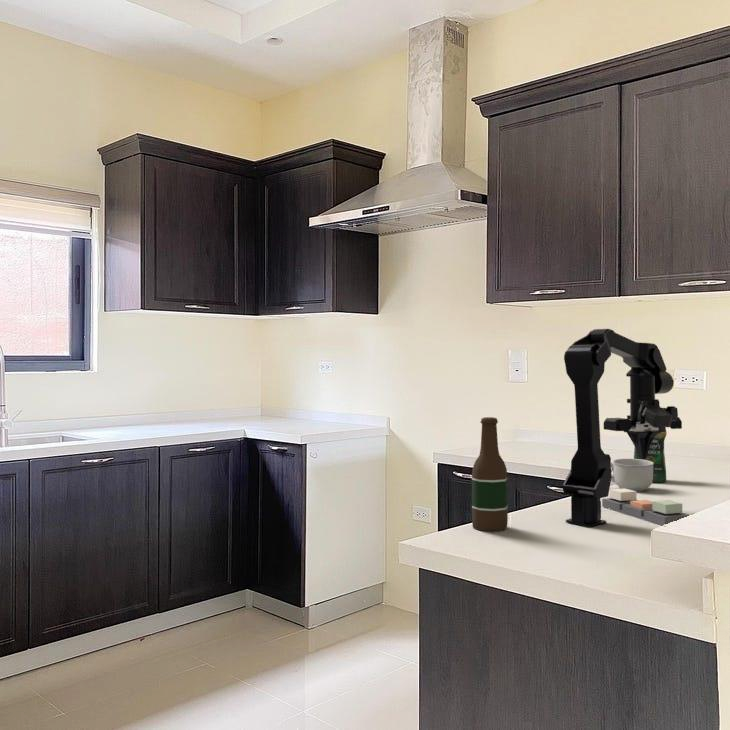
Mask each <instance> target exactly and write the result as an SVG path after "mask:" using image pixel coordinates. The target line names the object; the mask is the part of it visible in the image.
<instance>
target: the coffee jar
mask: <svg viewBox="0 0 730 730" xmlns="http://www.w3.org/2000/svg"><path fill="white" fill-rule="evenodd" d="M645 422H647V421H645ZM659 430H660V431H662V433H659V434H658V435H656V436H655V437H654V439H653V441H652V443H651V446H650V448H649V451H648V454H647V457H646V459H642V460H647V461H651V462H653V463H654V465H653V481H652V483H655V484H656V483H657V484H659V483H665V482H666V481H667V466H666V458H665V439H666V437H667V434H668V433H667V427H660V428H659ZM633 459H641V458H640V457H639V455H638V452H637V450H636V448H635V447H634V452H633Z"/></svg>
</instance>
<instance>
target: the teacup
mask: <svg viewBox="0 0 730 730" xmlns="http://www.w3.org/2000/svg"><path fill="white" fill-rule="evenodd" d="M653 465H654V463H653V462H651V461H647V460H642V459H634V458H618V459H617V458H616V459H614V460H613V461H611V470H612V473H613V474H612V477H611V483H614V484H615V485H616V486H617V487H619V489H629V490H633V491H636V492H643V491H646V490H647V489H648V488H650V487H651V485H652V484H653V482H652V481H653Z"/></svg>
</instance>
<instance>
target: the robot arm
mask: <svg viewBox="0 0 730 730" xmlns="http://www.w3.org/2000/svg"><path fill="white" fill-rule="evenodd" d="M612 354H613V355H617V356H618V357H621V358H622V362H623V363H624V364H626V365H627V366H628V367H630V369H629V370H628V371H627V372H626V374H625V376H626V377H629V385H630V386H629V388H630V389H629V397H630V398H626V403H627V404H630V406H629V409H630V410H629V411H630V412H629V413H630V414H629V415H628V414H627V415H626V418H623V417H606V418H605V419H604V421H603V430H607V431H612V432H613V431H614V432H624V433H627V436H628V437H629V439H630V441H631V442H632V445H634V448H636V450H637V452H638V455H639V457H640V458H641V459H646V457H647V454H648V451H649V448H650V446H651V443H652V441H653V439H654V437H655V436H656V435H658V434H659V433H662V431H660V430H659V428H660V427H666V428H670V429H671V430H678V429H679V430H681V429H682V428H683V421H682V420H681V418H680V417H679V413H678V407H676V406H674V405H673V406H672V405H668V406H666V407H661V406H660V400H659V398H658V399H657V398H656V395H660V394H667V393H670V392H671V390H672V389H673V387H674V384H675V381H674V379H673V376H672V375H671V374H670V373H669V372H668V371H667V366H666V363H665V360H664V358H663V355H662V353H661V350H660V349H659V346H657V344H656V343H650V342H639V341H638V342H637V341H634V340H632V339H631V338H628V337H626V336H624V335H621V334H619V333H617V332H615V330H613V329H611V328H596V329H592V330H590V331H589V332H588V334H586V335H585V336H583V337H581V338H579V339H577V340H576V341H574V342H573V343H572V344H571V345H570V346H568V348H567V349H566V351H565V352H564V355H563V360H564V365H565V372H566V375H567V376H568V378H569V379H570V381H571V382H572V384H573V386H574V398H575V399H574V403H575V404H574V405H575V417H576V418H575V420H576V421H575V422H576V424H575V425H576V440H577V450H576V451H575V453H574V455H573V456H572V459H571V461H570V470H569V472H568V474H567V476H566V478H565V480H564V482H563V484H562V486H561V488H562V491H563V495H571V496H570V499H571V500H570V504H571V505H570V507H571V508H570V509H571V510H570V511H571V515H570V516H571V517H570V518H567V519H565V523H568V524H569V523H570V524H573V525H578V526H584V527H588V528H590V527H595V526H599V525H604V524H607V520H604V519H602V500H601V499H605V498H609V495H610V488H611V483H612V481H611V477H612V476H613V474H612V473H613V471H612V468H611V462H612V461H611V460H612V458H611V456H610V454H609V453H604V450H603V449H602V447H601V446H602V445H601V428H600V427H601V426H600V407H599V405H600V404H599V390H598V388H599V387H598V384H599V382H600V380H601V378H602V376H603V375H604V373H605V366H606V364H605V363H606V362H607V361H608V360H609V359H610V358H611V356H612ZM645 421H647V422H645Z"/></svg>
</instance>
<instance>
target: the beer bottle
mask: <svg viewBox="0 0 730 730" xmlns="http://www.w3.org/2000/svg"><path fill="white" fill-rule="evenodd" d="M479 423H480V424H481V435H480V437H481V438H480V450H479V455H478V457H477V458H476V459H475V462H474V463H473V467H472V471H471V522H472V528H473V529H474V530H478V531H480V532H493V533H494V532H503V531H505V530H506V529H507V527H508V517H509V516H508V514H509V513H508V511H509V508H508V506H509V503H508V502H509V501H508V497H509V495H508V471H507V470H508V468H507V467H506V462H505V461H504V460H503V458H502V456H501V455H500V451H499V442H498V426H497V424H498V423H499V421H498V418H497V417H492V416H491V417H490V416H489V417H482V418H481V419H480V422H479Z"/></svg>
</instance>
